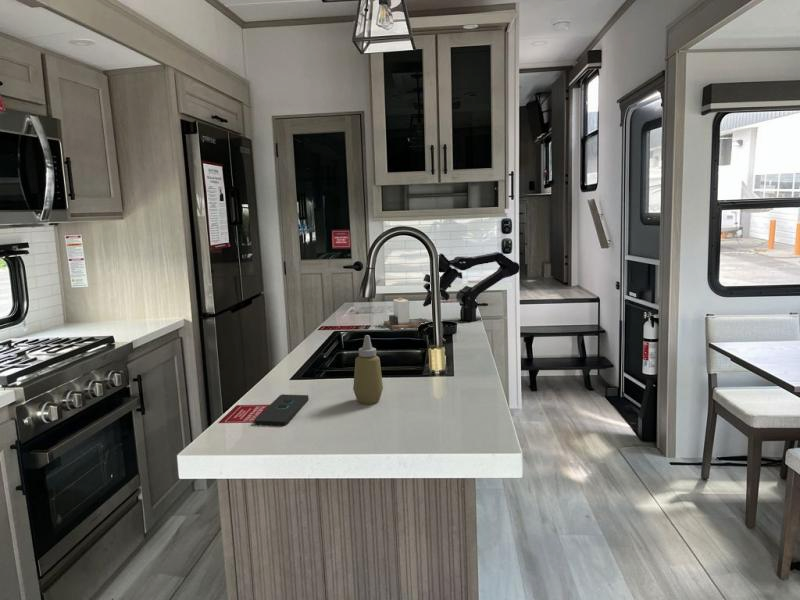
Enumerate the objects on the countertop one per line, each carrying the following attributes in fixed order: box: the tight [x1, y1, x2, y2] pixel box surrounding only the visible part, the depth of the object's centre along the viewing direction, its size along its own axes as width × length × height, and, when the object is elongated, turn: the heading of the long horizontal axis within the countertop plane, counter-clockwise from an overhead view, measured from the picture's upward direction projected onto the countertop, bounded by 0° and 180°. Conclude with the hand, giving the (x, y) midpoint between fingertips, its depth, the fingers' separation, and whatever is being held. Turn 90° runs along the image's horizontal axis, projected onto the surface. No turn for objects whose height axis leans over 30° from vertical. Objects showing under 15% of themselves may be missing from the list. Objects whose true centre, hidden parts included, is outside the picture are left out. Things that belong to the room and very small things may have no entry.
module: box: [392, 297, 410, 324], centre depth 254 cm, size 5×7×11 cm
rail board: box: [383, 314, 430, 330], centre depth 255 cm, size 18×14×4 cm
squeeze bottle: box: [352, 334, 384, 405], centre depth 154 cm, size 8×8×18 cm
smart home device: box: [254, 394, 310, 427], centre depth 149 cm, size 8×2×20 cm
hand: (423, 305), depth 257 cm, fingers closed
